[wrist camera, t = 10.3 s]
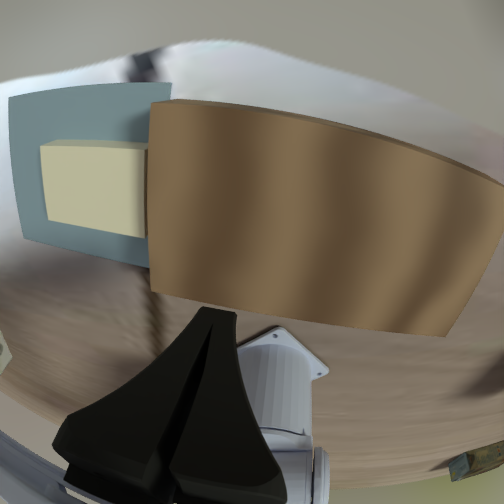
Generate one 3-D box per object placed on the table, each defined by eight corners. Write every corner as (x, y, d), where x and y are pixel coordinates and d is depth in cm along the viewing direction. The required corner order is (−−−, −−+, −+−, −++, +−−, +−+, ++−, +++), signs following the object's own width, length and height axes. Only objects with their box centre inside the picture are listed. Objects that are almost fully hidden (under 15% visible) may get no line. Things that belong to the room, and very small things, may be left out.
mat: (171, 82, 16) (169, 82, 16) (164, 268, 23) (162, 270, 23) (11, 96, 16) (8, 97, 16) (26, 236, 24) (23, 238, 23)
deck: (486, 174, 16) (517, 194, 13) (429, 304, 22) (445, 337, 19) (177, 98, 17) (151, 102, 13) (170, 259, 23) (151, 290, 19)
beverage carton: (465, 450, 42) (470, 473, 37) (511, 436, 41) (517, 455, 36) (446, 463, 46) (450, 485, 41) (494, 450, 46) (498, 468, 40)
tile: (157, 143, 18) (144, 150, 16) (156, 225, 21) (144, 238, 19) (56, 139, 18) (40, 145, 16) (62, 209, 21) (48, 220, 19)
